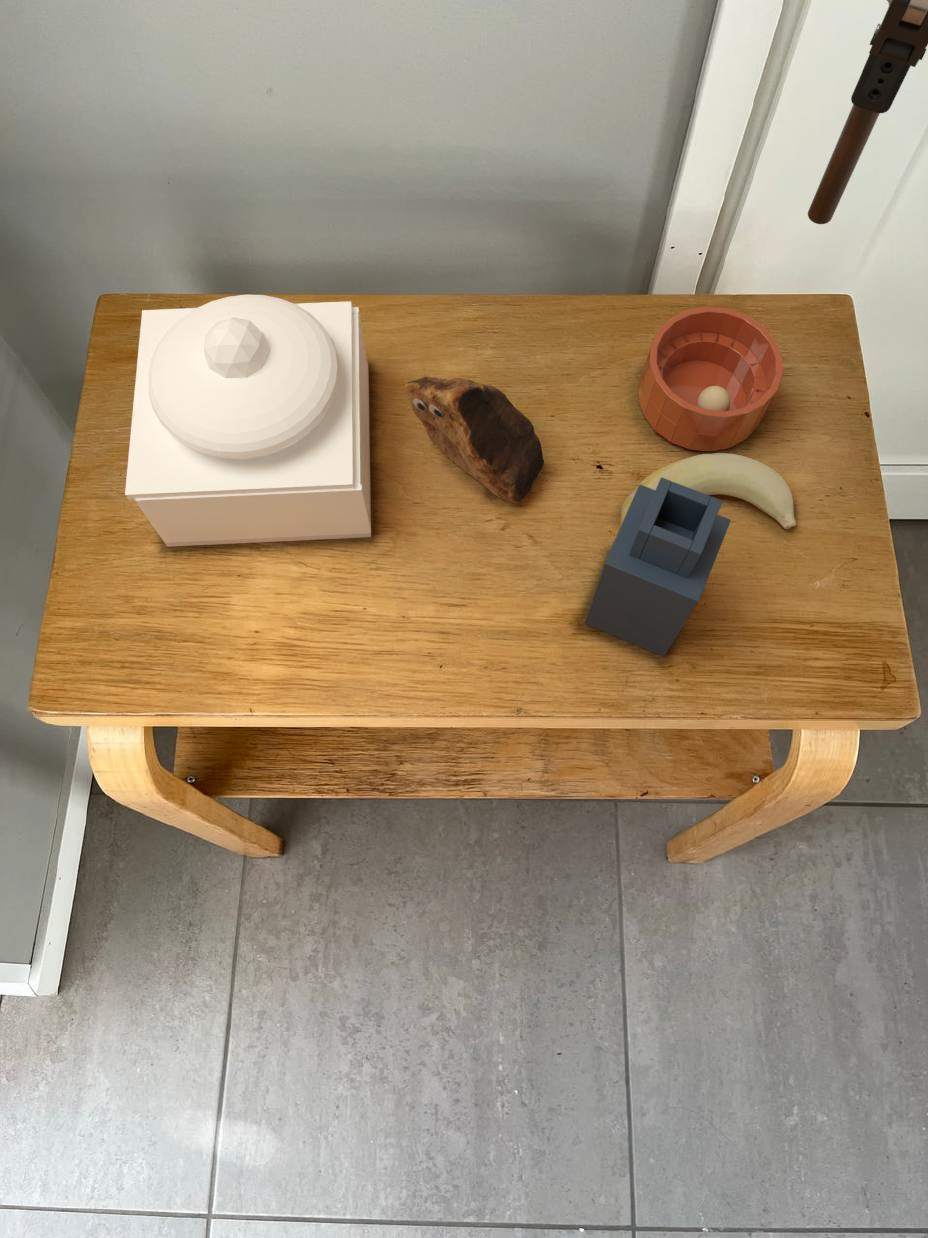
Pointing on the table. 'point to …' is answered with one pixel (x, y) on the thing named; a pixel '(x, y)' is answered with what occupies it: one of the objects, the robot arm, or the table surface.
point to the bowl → (709, 377)
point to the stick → (842, 164)
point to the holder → (658, 565)
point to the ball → (714, 399)
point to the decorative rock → (479, 433)
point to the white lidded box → (252, 422)
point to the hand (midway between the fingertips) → (874, 91)
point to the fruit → (728, 482)
